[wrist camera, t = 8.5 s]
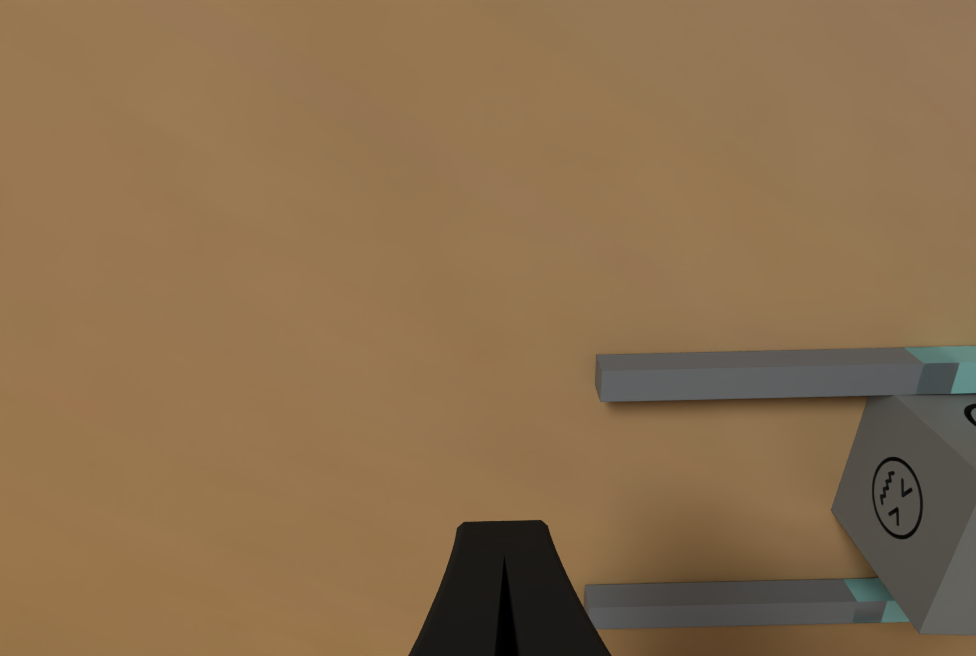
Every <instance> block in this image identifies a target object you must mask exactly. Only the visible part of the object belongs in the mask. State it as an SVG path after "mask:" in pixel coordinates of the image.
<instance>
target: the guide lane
mask: <svg viewBox="0 0 976 656" xmlns="http://www.w3.org/2000/svg"><path fill="white" fill-rule="evenodd" d="M595 386H596V390H597V393H598V396H599V399H600V402H619V401H661V400H704V399H746V398H788V397H830V396H873V395H915V394H957V393H976V346H949V347H907V348H865V349H823V350H781V351H739V352H697V353H655V354H612V355H596V375H595ZM584 609H585V611H586V613H587V614H588V616H589V618H590V620H591V622H592V623H593V625H594V627H595V629H627V628H670V627H713V626H756V625H799V624H842V623H885V622H910V621H909V619H908V618H907V616H906V615H905V614H904V612H903V611H902V609H901V608H900V606H899V605H898V604H897V602H896V601H895V599H894V598H893V597H892V595H891V594H890V592H889V591H888V590H887V588H886V587H885V585H884V584H883V583H882V581H881V580H880V578H867V579H824V580H782V581H739V582H696V583H653V584H611V585H585V593H584Z"/></svg>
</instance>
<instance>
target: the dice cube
mask: <svg viewBox="0 0 976 656" xmlns="http://www.w3.org/2000/svg"><path fill="white" fill-rule="evenodd" d="M831 511H832V512H833V514H834V515H835V516H836V518H837V519H838V521H839V522H840V523H841V525H842V526H843V528H844V529H845V531H846V532H847V533H848V535H849V536H850V538H851V539H852V540H853V542H854V543H855V545H856V546H857V547H858V549H859V550H860V552H861V553H862V554H863V556H864V557H865V559H866V560H867V561H868V563H869V564H870V566H871V567H872V569H873V570H874V571H875V573H876V574H877V576H878V577H879V578H880V580H881V581H882V583H883V584H884V585H885V587H886V588H887V590H888V591H889V592H890V594H891V595H892V597H893V598H894V599H895V601H896V602H897V604H898V605H899V606H900V608H901V609H902V611H903V612H904V614H905V615H906V616H907V618H908V619H909V621H910V622H911V623H912V625H913V626H914V628H915V629H916V630H917V632H918V633H919V634H944V635H975V636H976V393H957V394H915V395H873V396H869V397H868V400H867V403H866V406H865V409H864V412H863V415H862V418H861V421H860V424H859V427H858V430H857V433H856V436H855V439H854V442H853V445H852V448H851V451H850V454H849V457H848V460H847V463H846V466H845V469H844V472H843V475H842V478H841V481H840V484H839V487H838V490H837V493H836V496H835V499H834V502H833V505H832V508H831Z"/></svg>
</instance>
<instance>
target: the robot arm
mask: <svg viewBox="0 0 976 656" xmlns="http://www.w3.org/2000/svg"><path fill="white" fill-rule="evenodd" d="M408 656H611V654H610V653H609V651H608V649H607V648H606V646H605V644H604V643H603V641H602V639H601V638H600V636H599V634H598V632H597V631H596V629H595V627H594V625H593V623H592V622H591V620H590V618H589V616H588V614H587V613H586V611H585V609H584V607H583V606H582V604H581V602H580V600H579V598H578V596H577V594H576V592H575V590H574V588H573V586H572V584H571V582H570V580H569V578H568V576H567V574H566V572H565V570H564V567H563V565H562V563H561V561H560V558H559V556H558V554H557V551H556V549H555V546H554V544H553V541H552V538H551V535H550V532H549V529H548V526H547V525H546V524H545V523H544V522H543V521H541V520H524V521H482V522H463V523H462V524H461V525H460V526H459V527H458V528H457V532H456V537H455V542H454V545H453V549H452V553H451V556H450V559H449V562H448V565H447V568H446V571H445V574H444V576H443V579H442V582H441V584H440V587H439V590H438V592H437V594H436V597H435V599H434V601H433V604H432V606H431V608H430V611H429V613H428V615H427V618H426V620H425V622H424V625H423V627H422V629H421V631H420V633H419V636H418V638H417V640H416V642H415V644H414V646H413V648H412V650H411V652H410V653H409V655H408Z"/></svg>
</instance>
